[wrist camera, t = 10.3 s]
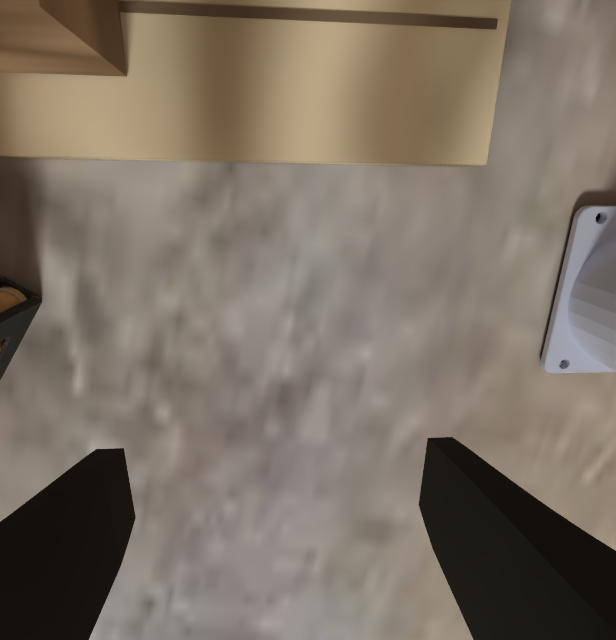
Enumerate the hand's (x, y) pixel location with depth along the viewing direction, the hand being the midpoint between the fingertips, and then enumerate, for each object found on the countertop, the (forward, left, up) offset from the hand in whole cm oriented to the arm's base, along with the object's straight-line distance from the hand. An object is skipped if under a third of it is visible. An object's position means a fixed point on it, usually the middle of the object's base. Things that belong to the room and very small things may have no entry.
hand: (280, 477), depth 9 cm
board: (+1, -12, -9) cm, 15 cm away
